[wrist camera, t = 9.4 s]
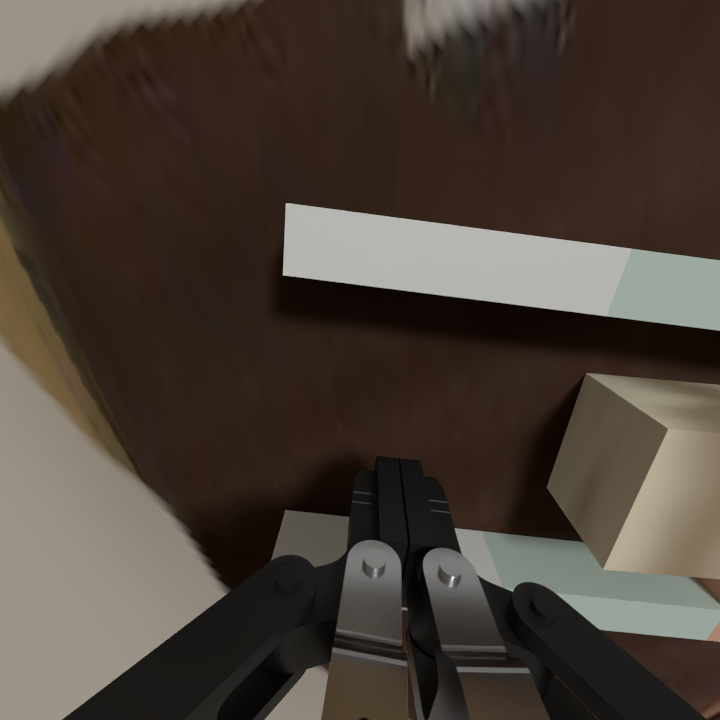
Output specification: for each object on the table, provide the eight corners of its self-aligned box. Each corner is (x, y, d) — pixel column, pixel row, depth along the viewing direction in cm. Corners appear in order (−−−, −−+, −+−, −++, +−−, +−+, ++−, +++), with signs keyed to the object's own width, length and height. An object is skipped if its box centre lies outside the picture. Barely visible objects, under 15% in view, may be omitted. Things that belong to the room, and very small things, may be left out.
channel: (884, 284, 13) (1023, 300, 11) (691, 583, 19) (748, 644, 16) (303, 208, 13) (285, 203, 10) (283, 539, 18) (268, 596, 16)
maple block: (722, 384, 15) (859, 445, 11) (666, 495, 17) (763, 582, 13) (584, 371, 15) (668, 428, 11) (545, 485, 17) (603, 569, 13)
